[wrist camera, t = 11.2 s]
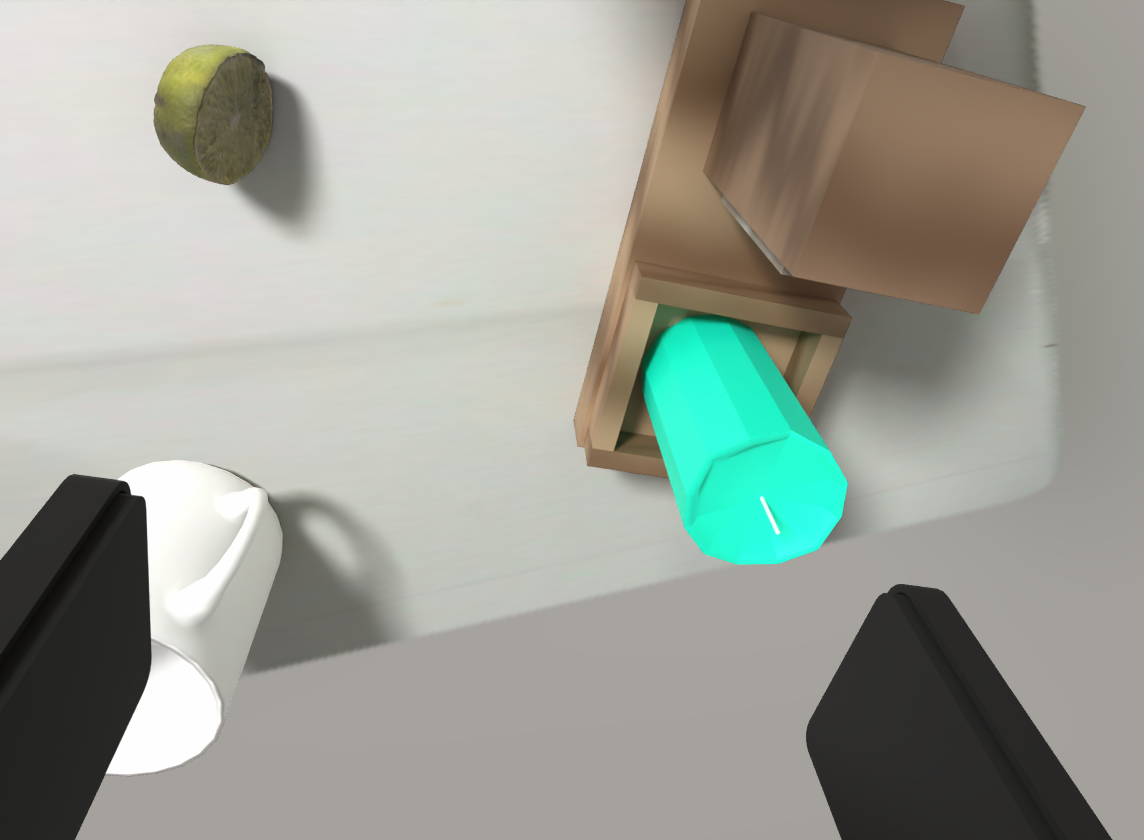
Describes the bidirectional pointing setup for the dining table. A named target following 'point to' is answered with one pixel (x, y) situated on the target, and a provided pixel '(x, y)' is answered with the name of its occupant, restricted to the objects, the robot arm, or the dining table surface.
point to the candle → (738, 445)
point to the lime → (214, 112)
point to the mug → (197, 606)
